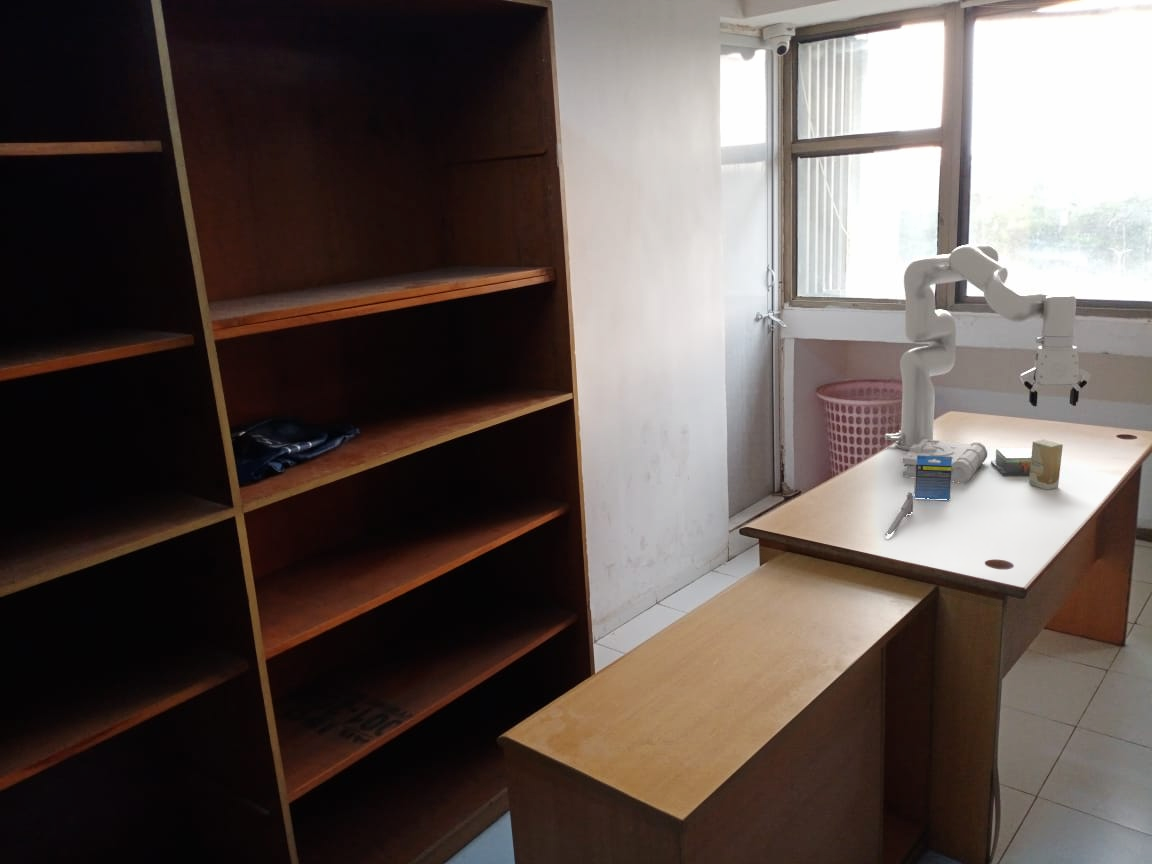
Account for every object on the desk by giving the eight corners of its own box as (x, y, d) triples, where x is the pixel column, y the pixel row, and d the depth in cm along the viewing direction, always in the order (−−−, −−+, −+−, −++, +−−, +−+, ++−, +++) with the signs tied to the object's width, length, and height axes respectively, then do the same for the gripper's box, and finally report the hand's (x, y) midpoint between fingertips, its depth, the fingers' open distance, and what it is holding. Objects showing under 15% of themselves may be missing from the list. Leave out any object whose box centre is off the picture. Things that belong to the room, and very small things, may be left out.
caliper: (908, 514, 236) (909, 490, 235) (913, 514, 236) (914, 491, 234) (884, 540, 220) (885, 515, 219) (889, 540, 219) (890, 515, 218)
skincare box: (1027, 484, 253) (1031, 441, 250) (1039, 481, 254) (1042, 438, 251) (1048, 490, 247) (1051, 446, 244) (1059, 487, 249) (1063, 443, 246)
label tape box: (949, 496, 247) (951, 452, 243) (950, 501, 243) (952, 456, 240) (914, 495, 249) (915, 451, 246) (914, 500, 245) (916, 455, 242)
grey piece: (1002, 476, 261) (1003, 459, 259) (990, 463, 272) (991, 447, 271) (1048, 475, 259) (1049, 458, 257) (1034, 463, 270) (1035, 447, 269)
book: (991, 460, 277) (992, 435, 275) (969, 486, 255) (970, 459, 253) (924, 454, 288) (924, 430, 286) (898, 478, 266) (898, 453, 264)
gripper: (1025, 344, 242) (1022, 408, 247) (1098, 343, 239) (1093, 407, 243) (1018, 340, 250) (1014, 402, 254) (1088, 338, 246) (1083, 401, 250)
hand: (1053, 405), depth 248 cm, fingers open, 9 cm apart
